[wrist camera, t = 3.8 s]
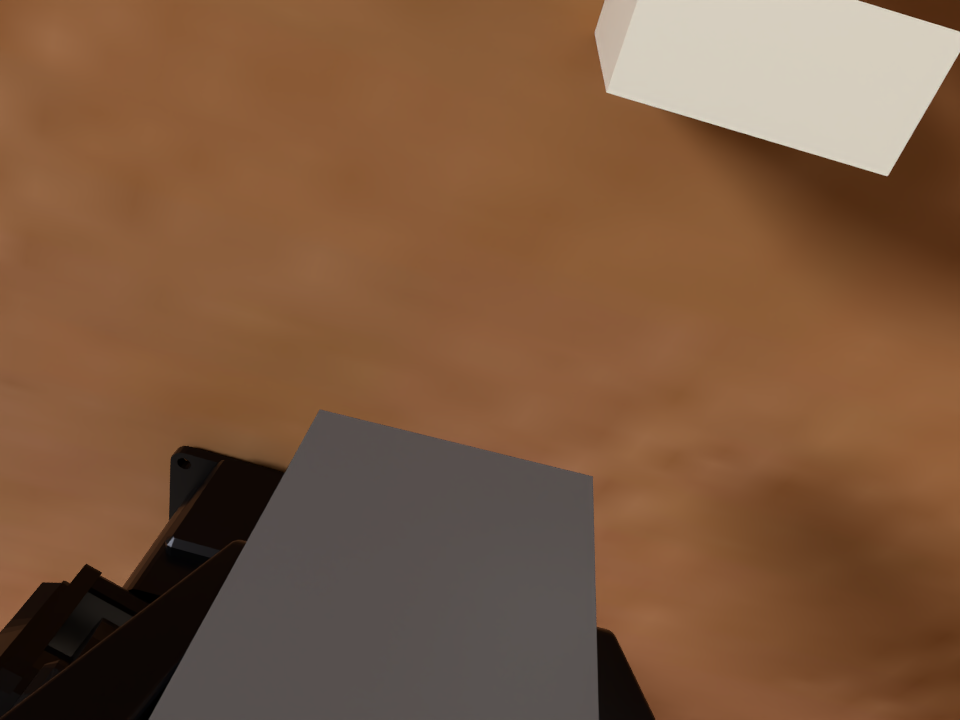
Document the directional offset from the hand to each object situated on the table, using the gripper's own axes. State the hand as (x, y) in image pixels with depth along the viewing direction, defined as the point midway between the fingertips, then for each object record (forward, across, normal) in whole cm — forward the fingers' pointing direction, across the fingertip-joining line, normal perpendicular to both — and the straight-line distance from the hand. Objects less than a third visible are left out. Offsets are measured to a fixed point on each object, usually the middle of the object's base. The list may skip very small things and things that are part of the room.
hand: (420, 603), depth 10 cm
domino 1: (+13, -3, -7) cm, 15 cm away
